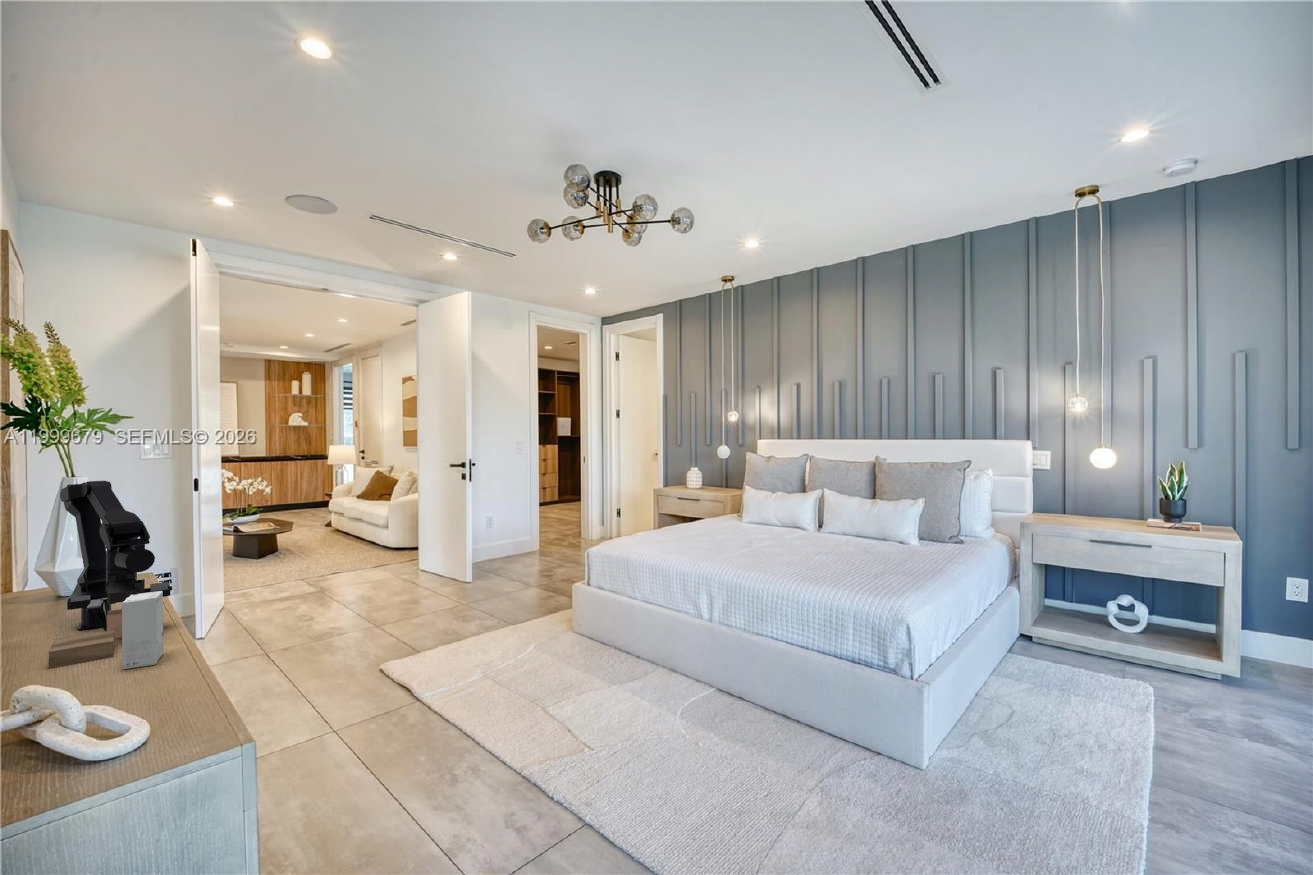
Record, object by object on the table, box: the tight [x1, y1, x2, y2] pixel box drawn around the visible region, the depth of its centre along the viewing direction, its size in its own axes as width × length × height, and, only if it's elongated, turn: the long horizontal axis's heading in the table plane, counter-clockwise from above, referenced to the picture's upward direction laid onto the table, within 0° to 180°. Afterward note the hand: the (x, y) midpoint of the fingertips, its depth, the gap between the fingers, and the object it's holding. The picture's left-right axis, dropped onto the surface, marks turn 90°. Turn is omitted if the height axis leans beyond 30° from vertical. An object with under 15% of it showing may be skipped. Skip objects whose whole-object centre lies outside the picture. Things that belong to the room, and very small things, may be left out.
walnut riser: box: [48, 630, 116, 669], centre depth 128 cm, size 10×10×4 cm
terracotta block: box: [107, 608, 122, 640], centre depth 142 cm, size 5×5×6 cm
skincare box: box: [121, 591, 164, 670], centre depth 125 cm, size 8×6×15 cm
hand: (120, 629), depth 142 cm, fingers closed on terracotta block, 5 cm apart
